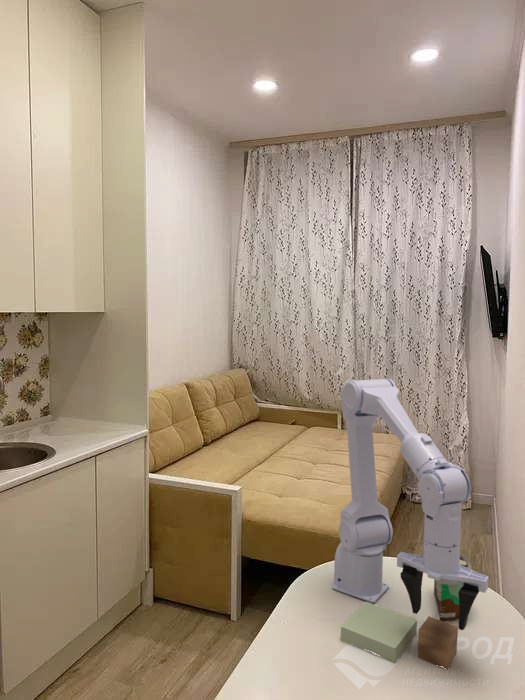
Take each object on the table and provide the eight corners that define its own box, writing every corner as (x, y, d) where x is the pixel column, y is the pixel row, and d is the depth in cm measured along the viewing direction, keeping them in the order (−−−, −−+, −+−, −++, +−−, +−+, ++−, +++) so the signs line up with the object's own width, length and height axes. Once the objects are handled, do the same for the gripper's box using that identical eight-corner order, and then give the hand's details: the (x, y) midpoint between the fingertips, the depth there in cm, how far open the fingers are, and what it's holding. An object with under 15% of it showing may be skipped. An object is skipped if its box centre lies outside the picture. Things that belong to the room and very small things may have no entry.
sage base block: (340, 642, 93) (341, 626, 93) (365, 616, 101) (365, 601, 101) (394, 665, 87) (395, 648, 87) (416, 635, 96) (417, 619, 95)
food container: (475, 629, 97) (478, 577, 96) (440, 625, 98) (442, 573, 97) (464, 594, 109) (466, 547, 108) (433, 590, 110) (434, 544, 109)
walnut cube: (417, 658, 89) (418, 629, 88) (427, 643, 93) (428, 616, 92) (447, 670, 86) (448, 641, 86) (456, 654, 90) (457, 626, 90)
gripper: (390, 536, 89) (388, 614, 90) (481, 561, 80) (478, 647, 81) (406, 523, 94) (403, 596, 96) (492, 545, 86) (489, 625, 87)
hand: (439, 618), depth 89 cm, fingers open, 7 cm apart
